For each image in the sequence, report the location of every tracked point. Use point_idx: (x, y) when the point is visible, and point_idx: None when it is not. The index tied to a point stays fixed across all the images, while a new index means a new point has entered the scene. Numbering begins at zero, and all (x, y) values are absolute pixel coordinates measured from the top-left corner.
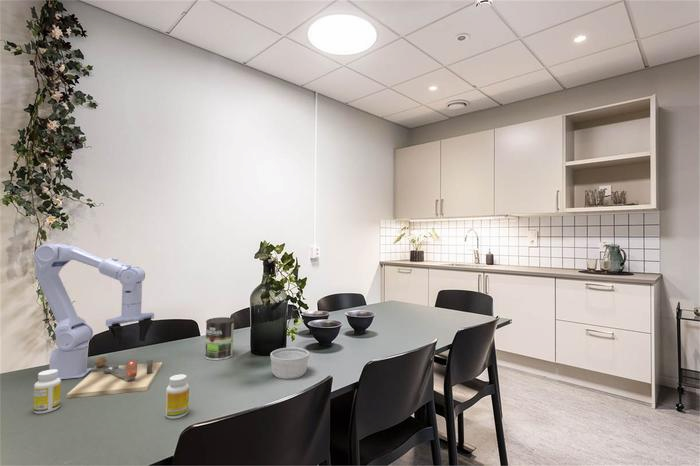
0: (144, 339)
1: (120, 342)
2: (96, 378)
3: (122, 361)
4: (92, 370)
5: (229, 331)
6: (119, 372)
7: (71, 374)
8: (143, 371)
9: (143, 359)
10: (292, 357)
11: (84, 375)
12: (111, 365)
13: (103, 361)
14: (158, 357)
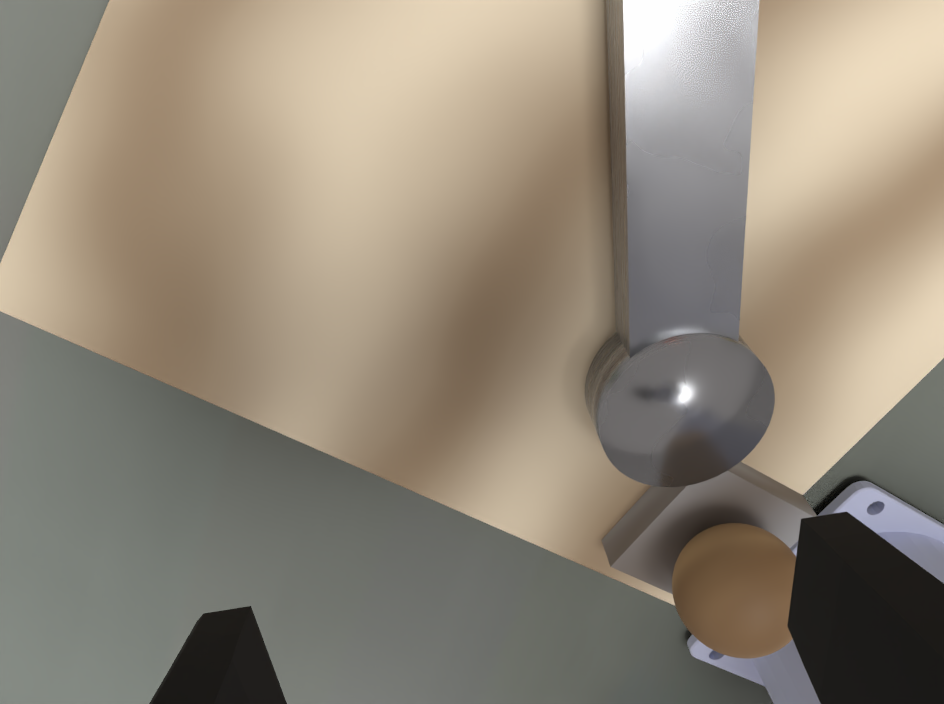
0: (195, 641)
1: (879, 581)
2: (886, 254)
3: (387, 691)
4: (806, 505)
5: None
6: (727, 93)
7: (936, 551)
8: (347, 62)
9: (184, 637)
10: None
11: (824, 509)
12: (668, 454)
13: (744, 558)
14: (5, 608)
